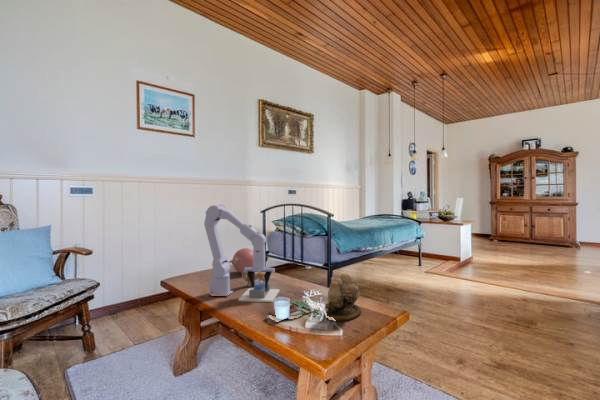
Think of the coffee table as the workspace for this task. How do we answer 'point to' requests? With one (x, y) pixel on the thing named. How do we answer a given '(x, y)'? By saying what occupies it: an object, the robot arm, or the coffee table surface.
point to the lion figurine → (257, 275)
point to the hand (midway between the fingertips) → (259, 287)
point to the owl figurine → (343, 299)
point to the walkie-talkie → (292, 311)
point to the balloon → (242, 259)
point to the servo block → (259, 286)
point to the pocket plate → (259, 295)
